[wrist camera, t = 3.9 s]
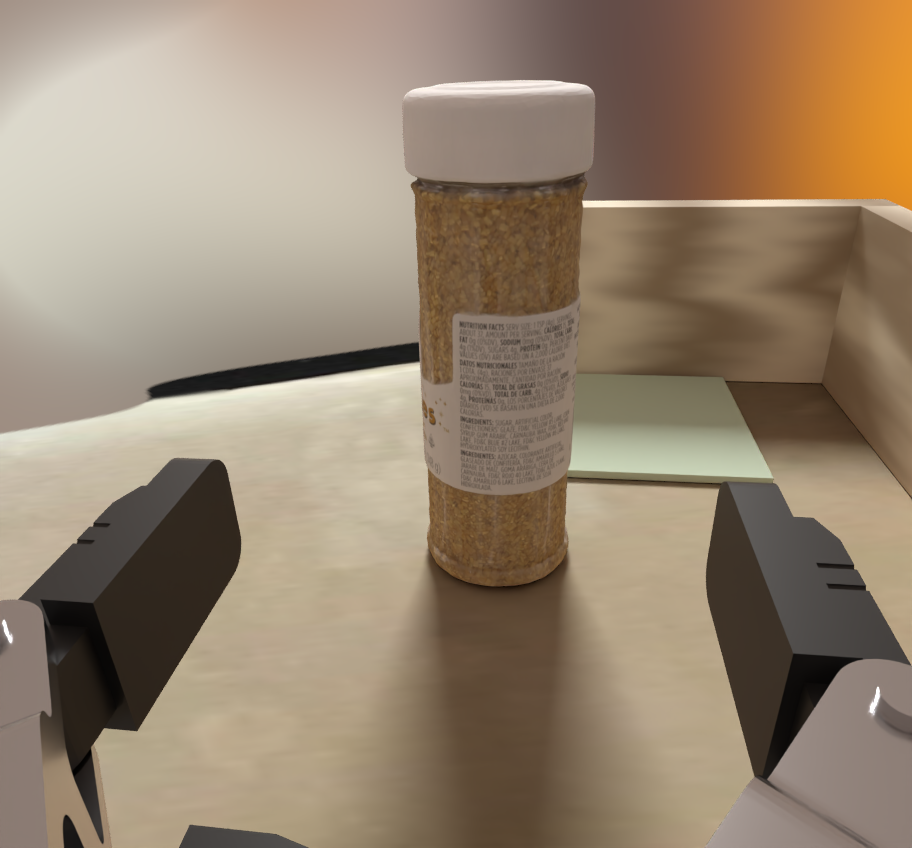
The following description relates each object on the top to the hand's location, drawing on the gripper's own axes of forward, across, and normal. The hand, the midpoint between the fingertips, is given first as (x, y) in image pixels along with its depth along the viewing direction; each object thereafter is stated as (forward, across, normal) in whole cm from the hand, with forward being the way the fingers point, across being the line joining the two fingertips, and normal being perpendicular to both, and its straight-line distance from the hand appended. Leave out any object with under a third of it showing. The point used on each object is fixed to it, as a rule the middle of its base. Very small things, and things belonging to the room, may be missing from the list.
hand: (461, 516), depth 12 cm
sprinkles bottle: (+9, 0, +8) cm, 12 cm away
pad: (+18, -5, +8) cm, 20 cm away
